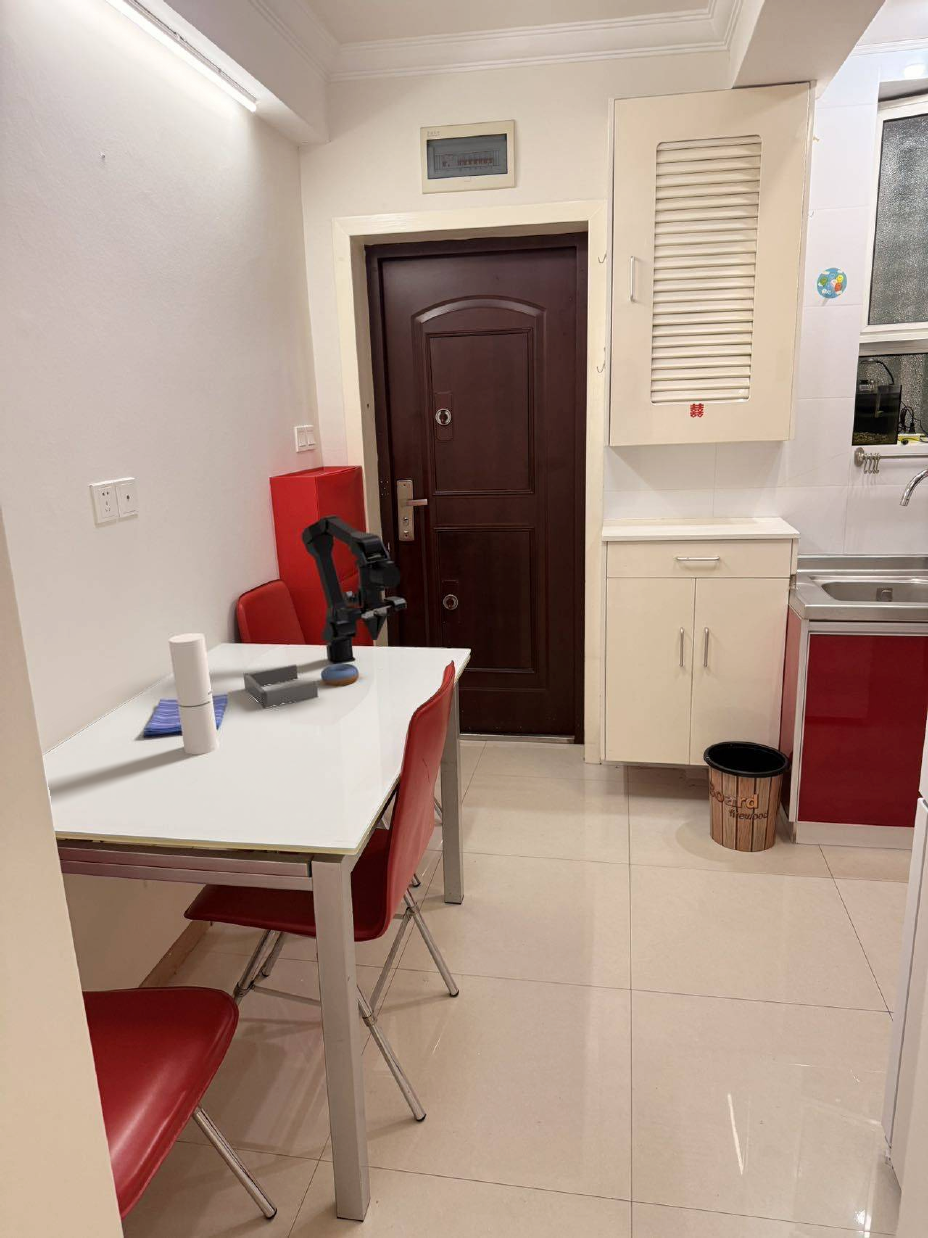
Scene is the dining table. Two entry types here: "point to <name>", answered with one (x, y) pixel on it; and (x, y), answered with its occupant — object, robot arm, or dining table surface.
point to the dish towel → (178, 717)
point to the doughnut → (339, 674)
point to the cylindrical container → (194, 693)
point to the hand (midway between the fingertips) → (374, 639)
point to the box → (280, 694)
